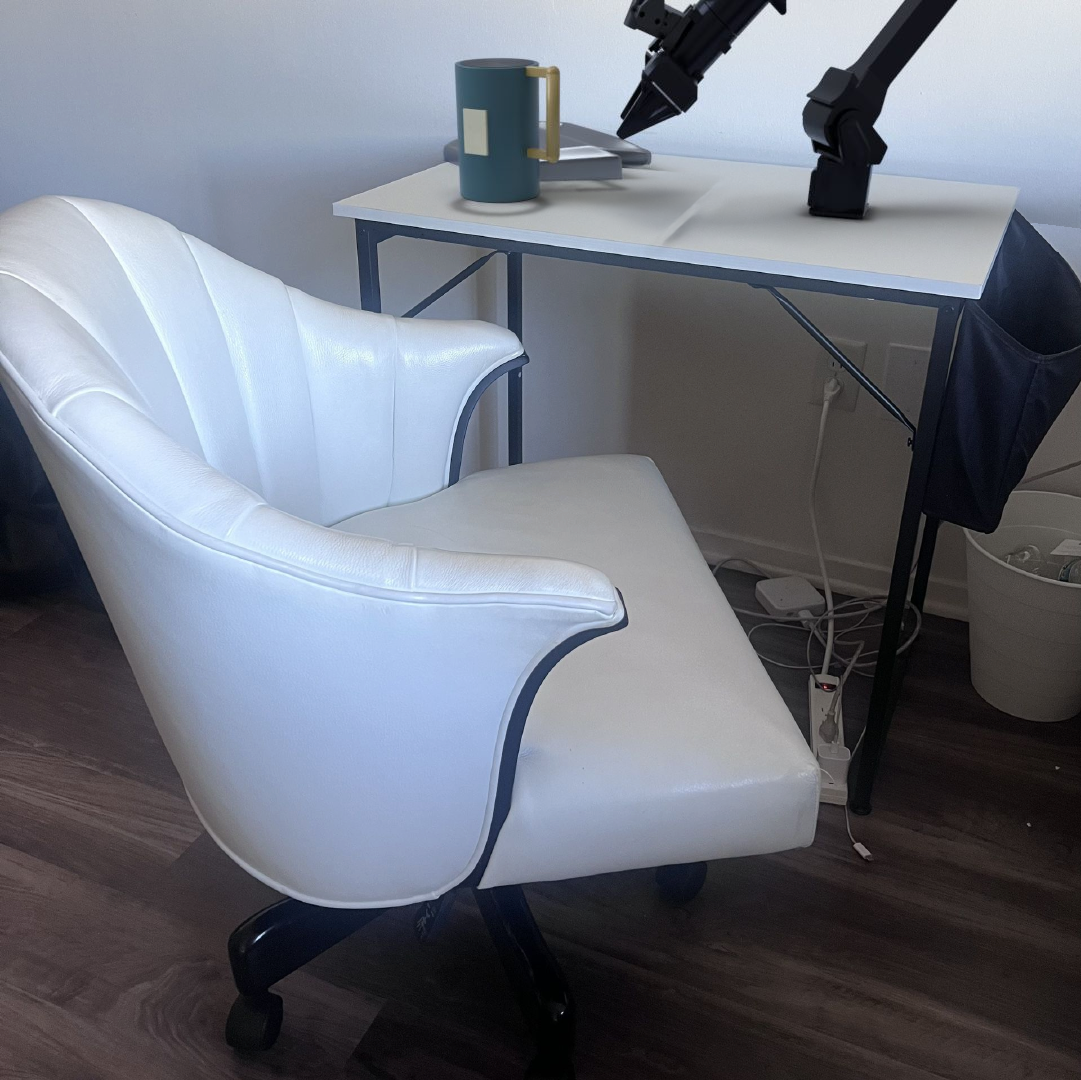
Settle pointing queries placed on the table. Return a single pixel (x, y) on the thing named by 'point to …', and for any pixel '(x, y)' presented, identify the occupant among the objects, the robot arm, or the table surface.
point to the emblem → (580, 154)
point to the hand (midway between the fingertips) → (620, 127)
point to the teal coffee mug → (504, 127)
